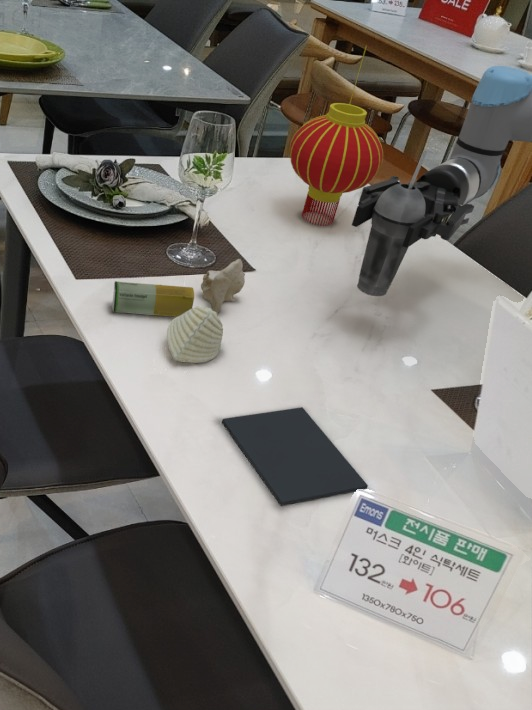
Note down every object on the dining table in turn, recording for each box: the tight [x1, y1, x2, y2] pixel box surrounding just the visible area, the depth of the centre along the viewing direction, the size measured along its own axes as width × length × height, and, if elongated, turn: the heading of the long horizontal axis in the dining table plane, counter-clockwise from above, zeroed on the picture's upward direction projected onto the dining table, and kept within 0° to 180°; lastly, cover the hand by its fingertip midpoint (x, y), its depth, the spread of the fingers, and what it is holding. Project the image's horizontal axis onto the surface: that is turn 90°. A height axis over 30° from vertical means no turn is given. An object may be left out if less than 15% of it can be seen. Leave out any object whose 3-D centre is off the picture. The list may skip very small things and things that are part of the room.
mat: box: [221, 406, 369, 507], centre depth 95 cm, size 16×12×1 cm
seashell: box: [166, 306, 224, 364], centre depth 108 cm, size 8×8×8 cm
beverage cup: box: [356, 150, 428, 297], centre depth 109 cm, size 7×7×20 cm
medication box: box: [111, 280, 195, 318], centre depth 115 cm, size 12×3×4 cm, turn 93°
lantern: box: [288, 45, 384, 227], centre depth 140 cm, size 17×17×30 cm
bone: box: [200, 258, 246, 315], centre depth 118 cm, size 9×6×10 cm
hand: (382, 226), depth 106 cm, fingers closed on beverage cup, 7 cm apart
